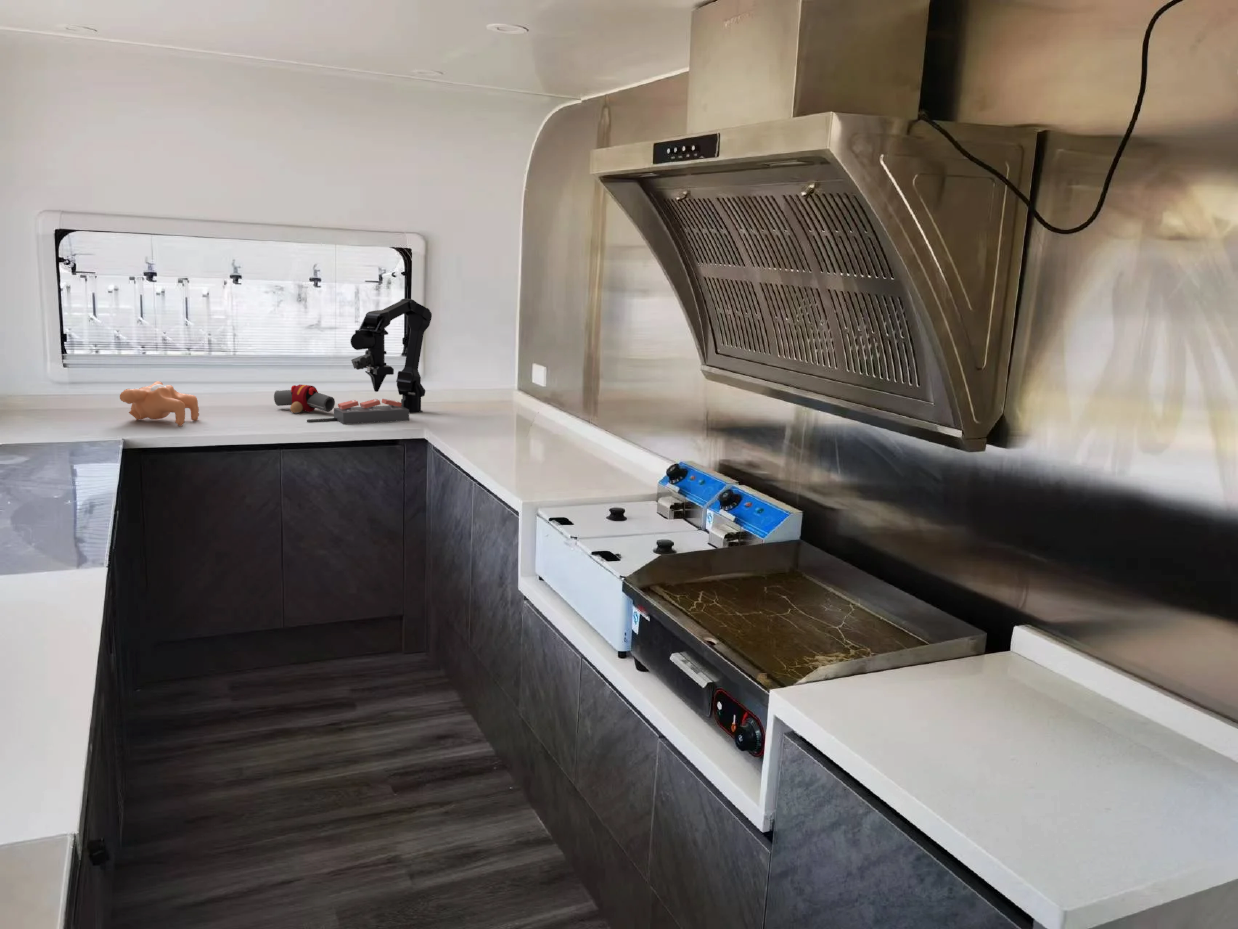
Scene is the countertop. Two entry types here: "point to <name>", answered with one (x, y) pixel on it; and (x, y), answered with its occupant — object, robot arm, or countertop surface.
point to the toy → (303, 399)
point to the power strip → (368, 415)
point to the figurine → (160, 402)
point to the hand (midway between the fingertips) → (376, 391)
